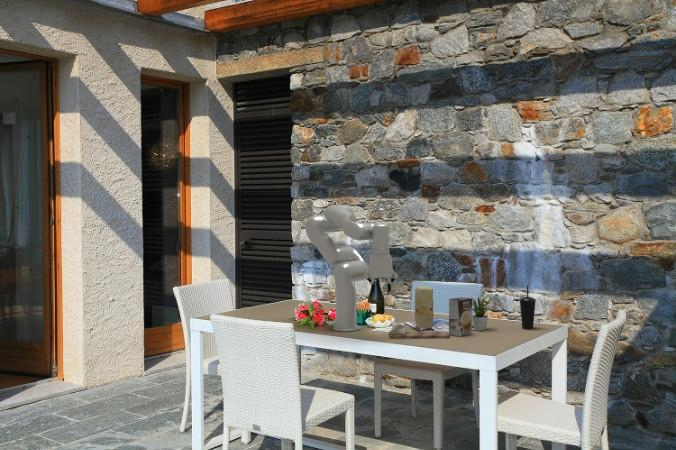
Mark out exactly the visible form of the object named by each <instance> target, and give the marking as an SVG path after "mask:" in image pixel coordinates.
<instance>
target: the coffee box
mask: <svg viewBox="0 0 676 450" xmlns="http://www.w3.org/2000/svg"><path fill="white" fill-rule="evenodd" d="M472 298H473V297H472ZM472 298H471V297H454V298H449V299H448V334H449V335H450V336H455V337H463V336H469V335H472V334H473V318H472V316H473V310H472V309H473V305H472V303H473V300H472Z"/></svg>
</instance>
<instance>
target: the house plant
mask: <svg viewBox="0 0 676 450" xmlns="http://www.w3.org/2000/svg"><path fill="white" fill-rule="evenodd" d="M476 296H477V298H475V299H476V300H475V299H474V297H472V296H470V298H472V312H474V313H475V314H474V315H473V314H472V325H473V330H475V331H478V332H479V331H480V332H481V331H486V330H487V323H488V318H489V317H488V315H486V313H487V312H488V311H491V312H493V309H491V308H493V306H488V305H490V304H492V301H493V300H494V298H492V299H489V300H488V301H486V298H487V297H486V296H485V295H483V296H482V298H481V299H480V297H479V294H477V295H476ZM487 306H488V307H487Z"/></svg>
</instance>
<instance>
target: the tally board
mask: <svg viewBox="0 0 676 450" xmlns="http://www.w3.org/2000/svg"><path fill="white" fill-rule="evenodd" d="M388 337H389V339H391V340H392V339H393V340H394V339H395V340H398V339H399V340H400V339H401V340H403V339H405V340H406V339H410V340H412V339H451V335H449V331H446V330H445V331H444V330H443V331H442V330H441V331H427V330H426V331H425V330H424V331H423V330H422V331H405V334H393V332H392V331H388Z"/></svg>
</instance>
